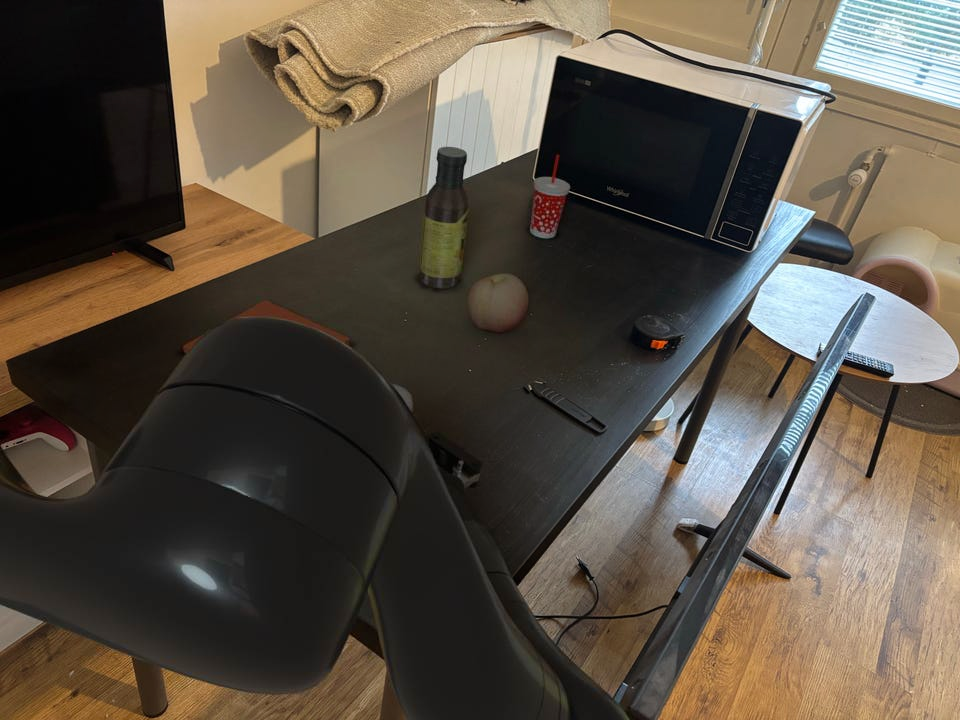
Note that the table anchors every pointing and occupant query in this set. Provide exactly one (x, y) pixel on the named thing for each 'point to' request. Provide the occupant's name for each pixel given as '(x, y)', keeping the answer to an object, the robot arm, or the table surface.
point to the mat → (278, 312)
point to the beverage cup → (548, 204)
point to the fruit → (497, 303)
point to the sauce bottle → (445, 222)
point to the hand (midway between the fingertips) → (375, 420)
